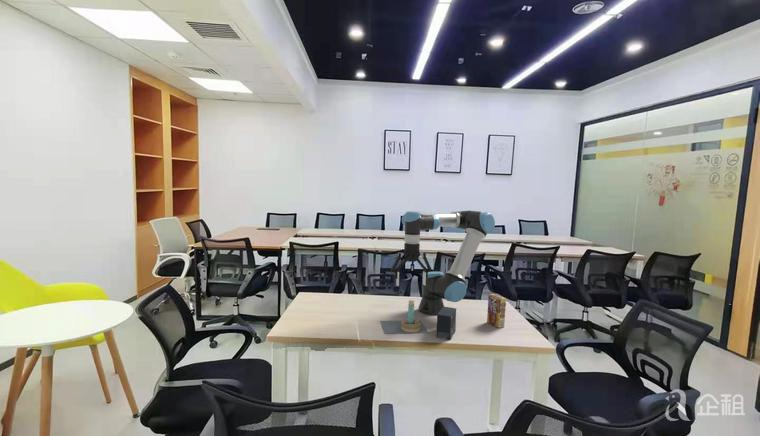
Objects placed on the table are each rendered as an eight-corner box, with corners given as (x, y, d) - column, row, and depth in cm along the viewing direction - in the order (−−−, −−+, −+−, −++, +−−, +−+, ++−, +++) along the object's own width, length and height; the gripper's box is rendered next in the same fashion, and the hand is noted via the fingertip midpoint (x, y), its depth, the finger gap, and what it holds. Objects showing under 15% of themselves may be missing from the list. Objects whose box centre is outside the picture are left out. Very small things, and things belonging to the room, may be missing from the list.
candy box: (505, 327, 182) (506, 298, 181) (498, 328, 180) (500, 299, 179) (492, 321, 190) (494, 293, 189) (486, 322, 188) (488, 294, 187)
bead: (417, 325, 179) (417, 319, 179) (421, 332, 170) (422, 326, 170) (399, 325, 178) (400, 319, 178) (403, 332, 169) (403, 326, 169)
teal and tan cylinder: (412, 327, 176) (413, 300, 175) (413, 329, 173) (414, 302, 172) (407, 327, 175) (408, 300, 174) (408, 329, 173) (409, 302, 172)
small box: (442, 329, 177) (443, 305, 176) (455, 331, 174) (456, 308, 173) (435, 338, 165) (437, 313, 164) (450, 341, 162) (451, 316, 161)
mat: (420, 321, 186) (420, 320, 186) (429, 334, 169) (429, 333, 169) (379, 322, 183) (379, 320, 183) (384, 335, 167) (384, 334, 166)
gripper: (434, 241, 179) (432, 282, 180) (385, 241, 175) (384, 283, 176) (438, 243, 171) (437, 286, 173) (388, 244, 167) (387, 287, 169)
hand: (410, 285), depth 175 cm, fingers open, 13 cm apart
